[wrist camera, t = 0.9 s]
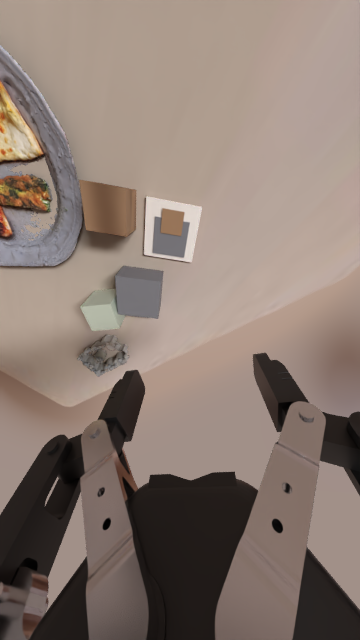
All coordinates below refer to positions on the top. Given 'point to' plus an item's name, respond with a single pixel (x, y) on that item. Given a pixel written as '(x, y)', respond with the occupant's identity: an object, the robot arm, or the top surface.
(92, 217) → the walnut block
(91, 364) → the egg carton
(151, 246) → the tile
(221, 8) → the top surface
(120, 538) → the robot arm
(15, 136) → the food plate
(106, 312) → the sage block
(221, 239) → the top surface
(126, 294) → the charcoal block
